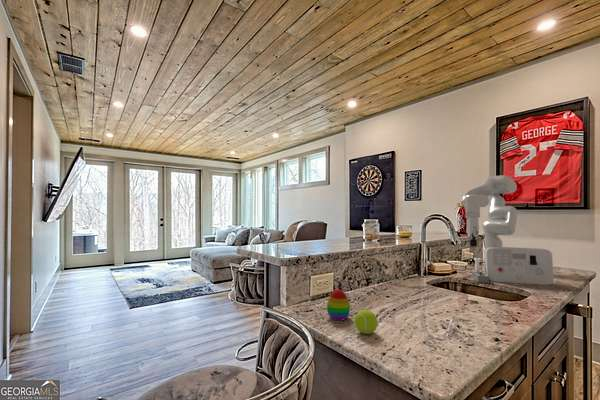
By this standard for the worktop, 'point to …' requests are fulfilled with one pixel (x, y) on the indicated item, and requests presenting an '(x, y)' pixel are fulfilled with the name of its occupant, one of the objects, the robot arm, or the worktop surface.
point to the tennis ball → (366, 321)
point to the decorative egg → (338, 305)
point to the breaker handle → (477, 265)
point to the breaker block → (480, 276)
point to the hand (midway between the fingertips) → (473, 246)
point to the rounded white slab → (519, 265)
